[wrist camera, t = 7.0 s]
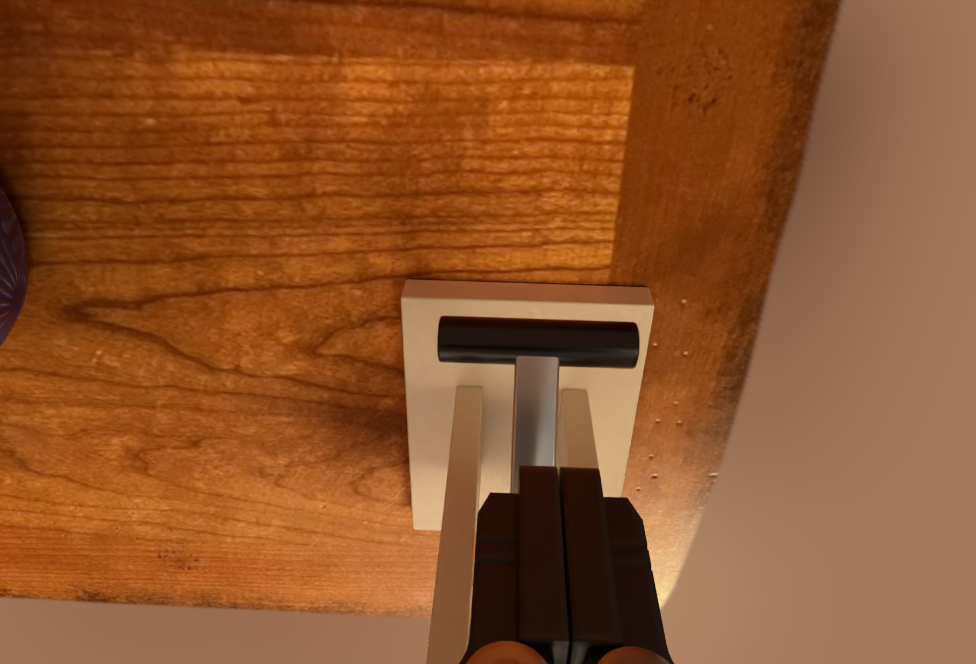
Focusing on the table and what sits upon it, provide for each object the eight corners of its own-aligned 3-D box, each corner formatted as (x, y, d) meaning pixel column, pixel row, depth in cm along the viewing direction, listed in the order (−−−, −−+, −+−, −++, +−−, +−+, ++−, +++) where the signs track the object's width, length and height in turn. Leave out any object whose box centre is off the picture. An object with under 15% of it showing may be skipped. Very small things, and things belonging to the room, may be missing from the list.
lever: (443, 314, 19) (435, 316, 17) (627, 320, 19) (646, 323, 17) (430, 746, 20) (420, 807, 17) (610, 753, 19) (625, 815, 17)
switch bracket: (405, 278, 26) (306, 644, 14) (649, 286, 26) (775, 663, 13) (416, 507, 32) (356, 895, 20) (610, 514, 32) (672, 910, 20)
